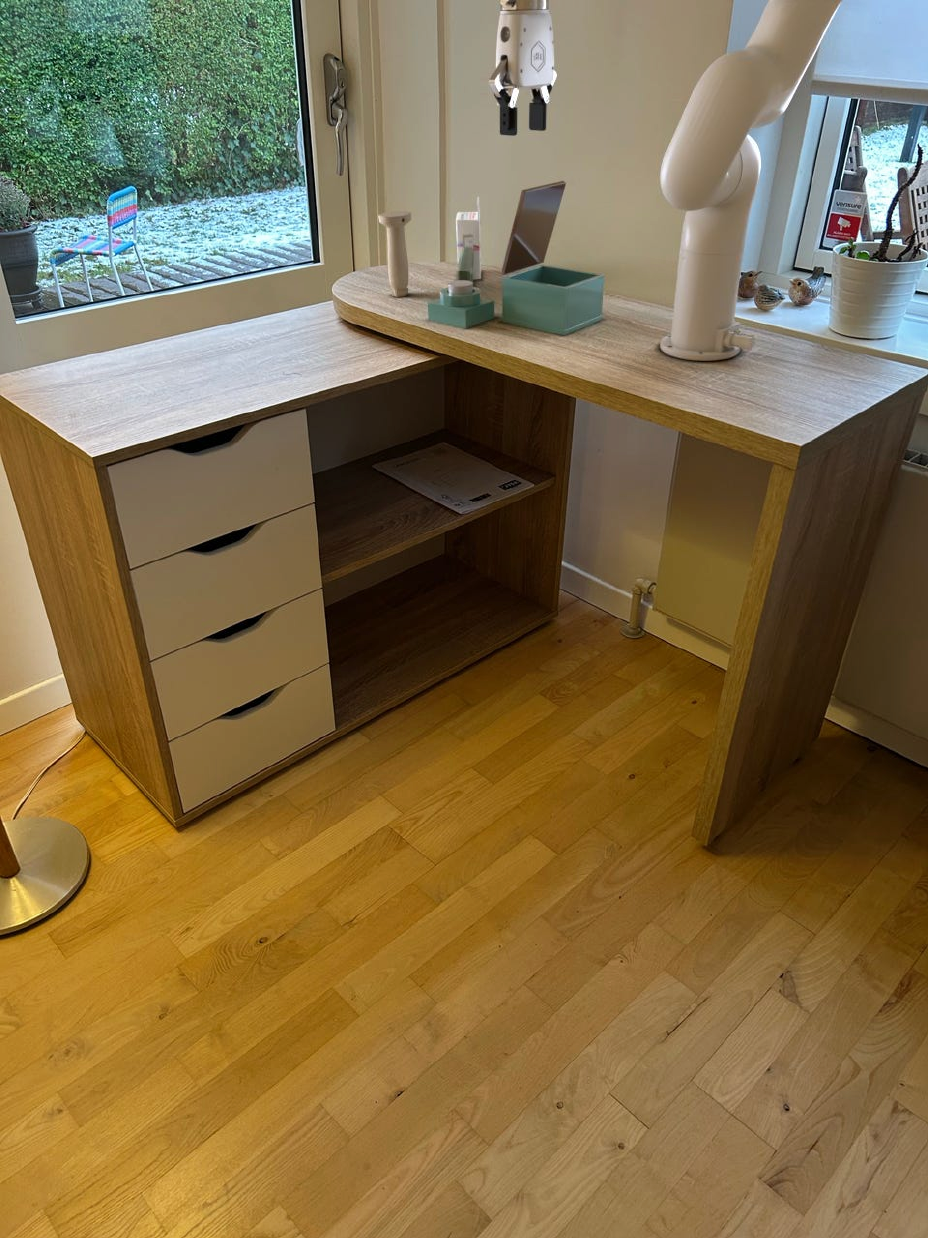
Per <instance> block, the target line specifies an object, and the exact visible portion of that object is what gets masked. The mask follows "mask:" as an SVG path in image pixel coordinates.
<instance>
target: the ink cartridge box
mask: <svg viewBox="0 0 928 1238" xmlns="http://www.w3.org/2000/svg"><path fill="white" fill-rule="evenodd" d="M476 207H477V211H458V212H457V214H456V217H455V229H456V230H455V231H456V250H457V263H458V262H459V258H460V255H461V251H462V249H463V248H464V247H471V248H472V249H473V250H474V263H473V280H481V279H482V235H481V233H482V230H481V229H482V227H481V226H482V225H481V223H482V222H481V205H480V196H477V200H476Z"/></svg>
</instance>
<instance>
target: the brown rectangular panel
mask: <svg viewBox="0 0 928 1238" xmlns="http://www.w3.org/2000/svg"><path fill="white" fill-rule="evenodd" d="M566 186H567V182H566V181H564V180H560V181H556V182H551V183H547V184H543V185H538V186H533V187H530V188H525V189H522V190H521V191H520V195H519V199H518V204H517V208H516V211H515V215H514V219H513V222H512V227H511V232H510V235H509V237H508V238H509V239H508V244H507V247H506V250H505V255H504V259H503V262H502V266H501V271H500V274H501V275H502V276H507V275H511V274H514V273H517V272H520V271H523V270H526V269H529V268H533V267H536V266H539V265H542V264H544V262H545V259H546V255H547V253H548V249H549V245H550V241H551V238H552V235H553V231H554V228H555V224H556V221H557V216H558V213H559V210H560V206H561V202H562V200H563V196H564V192H565V189H566Z"/></svg>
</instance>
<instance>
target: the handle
mask: <svg viewBox="0 0 928 1238" xmlns="http://www.w3.org/2000/svg"><path fill="white" fill-rule="evenodd" d="M377 217H378V221H379V224H381V225H383V226H384V227H386V234H387V235H386V236H387V237H386V238H387V239H386V240H387V272H388V273H387V274H388V280H389V286H390V288H391V289H390V292H391V296H392V297H395V298H400V297H402V298H403V297H406V296H407V295H408V293H409V287H408V286H409V260H408V252H407V243H406V232H405V231H406V228H405V227H406V226H407V224H408V223H410V221H411V220H412V212H411V211H407V210H396V211H388V212H383V213H380V214H378V216H377Z"/></svg>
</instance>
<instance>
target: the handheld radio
mask: <svg viewBox="0 0 928 1238" xmlns="http://www.w3.org/2000/svg"><path fill="white" fill-rule="evenodd" d="M473 263H474V250H473V249H472V248H471V247H464V248H463V249H462V251H461V255H460V258H459V262H458V261H457V271H456V281H457V280H467V281H471V282H473V283H474V279H473Z"/></svg>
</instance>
